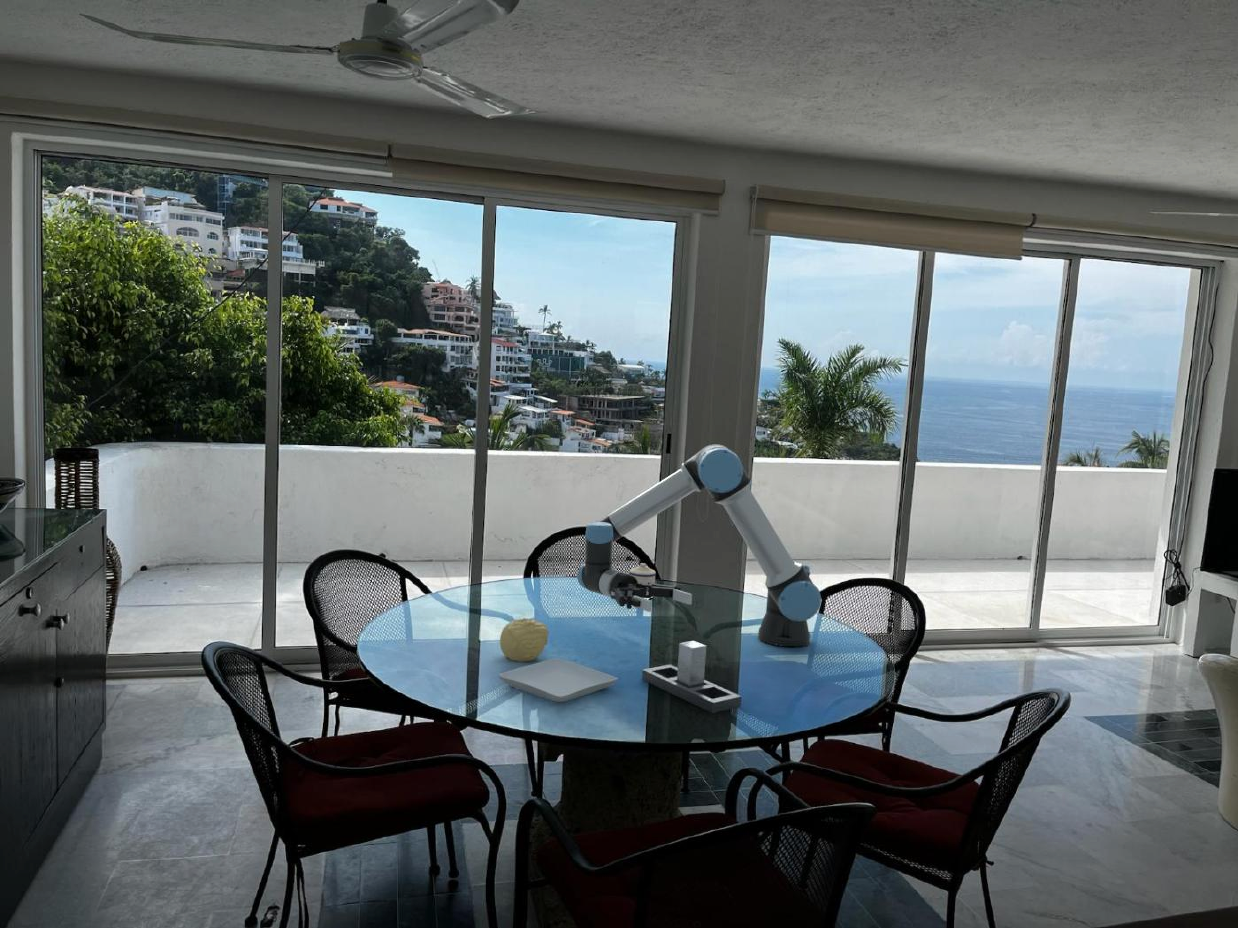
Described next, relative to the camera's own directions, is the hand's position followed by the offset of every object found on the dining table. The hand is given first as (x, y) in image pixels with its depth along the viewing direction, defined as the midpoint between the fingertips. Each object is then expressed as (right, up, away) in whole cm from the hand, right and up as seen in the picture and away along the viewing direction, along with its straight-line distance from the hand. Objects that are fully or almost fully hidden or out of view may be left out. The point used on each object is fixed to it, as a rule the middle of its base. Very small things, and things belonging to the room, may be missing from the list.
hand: (670, 602), depth 241 cm
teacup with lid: (-7, -10, +81) cm, 82 cm away
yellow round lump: (-39, -16, +8) cm, 43 cm away
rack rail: (+4, -20, -10) cm, 23 cm away
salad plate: (-28, -19, -12) cm, 36 cm away
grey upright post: (+4, -20, -10) cm, 23 cm away
